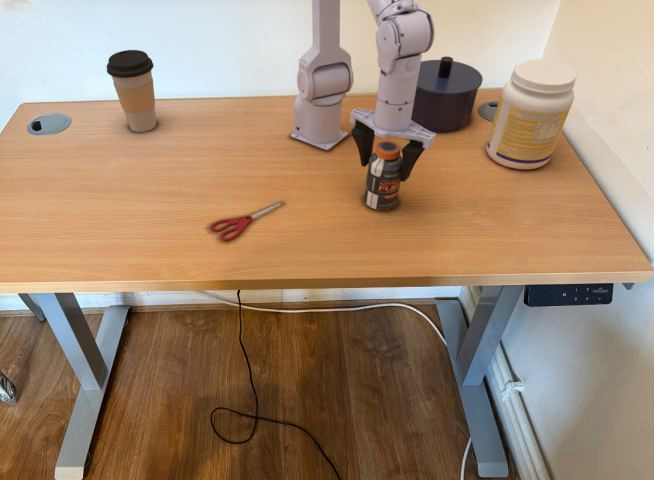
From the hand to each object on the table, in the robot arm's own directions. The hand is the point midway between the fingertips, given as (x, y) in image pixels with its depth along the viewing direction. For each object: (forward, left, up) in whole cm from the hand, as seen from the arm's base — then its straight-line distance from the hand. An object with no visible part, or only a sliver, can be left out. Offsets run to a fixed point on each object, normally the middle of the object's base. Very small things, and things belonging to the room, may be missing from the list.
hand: (384, 171), depth 92 cm
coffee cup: (-56, -7, -7) cm, 57 cm away
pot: (-6, +34, -7) cm, 35 cm away
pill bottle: (0, 0, -7) cm, 7 cm away
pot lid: (-6, +34, +2) cm, 35 cm away
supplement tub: (+14, +29, -7) cm, 33 cm away
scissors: (-16, -18, -7) cm, 25 cm away
